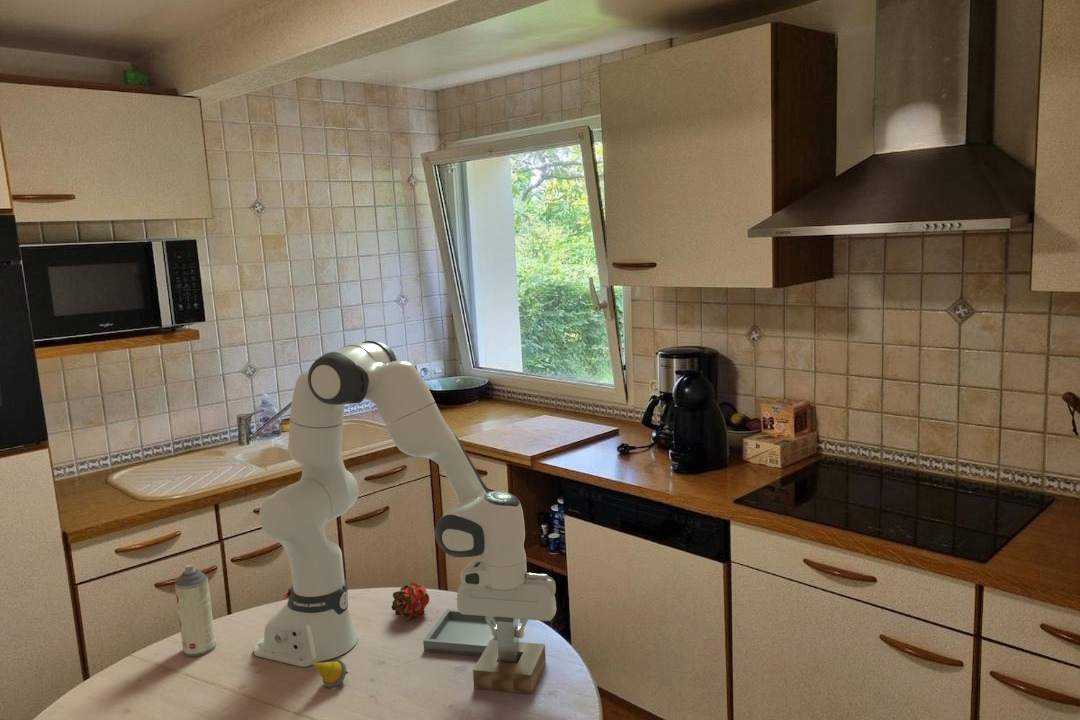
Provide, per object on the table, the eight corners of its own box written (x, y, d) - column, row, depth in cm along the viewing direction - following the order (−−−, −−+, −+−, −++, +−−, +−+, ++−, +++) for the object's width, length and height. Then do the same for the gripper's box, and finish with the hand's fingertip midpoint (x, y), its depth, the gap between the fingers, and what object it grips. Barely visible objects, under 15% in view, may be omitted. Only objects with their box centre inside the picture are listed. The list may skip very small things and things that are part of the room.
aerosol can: (190, 642, 183) (180, 560, 180) (220, 640, 183) (210, 558, 180) (178, 657, 176) (167, 572, 173) (209, 656, 177) (198, 571, 173)
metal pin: (498, 667, 162) (496, 616, 160) (503, 658, 165) (501, 608, 164) (515, 668, 161) (512, 617, 159) (519, 659, 165) (517, 609, 163)
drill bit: (354, 686, 163) (322, 672, 156) (333, 695, 164) (301, 681, 157) (355, 661, 166) (323, 646, 160) (334, 669, 168) (302, 655, 161)
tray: (424, 651, 174) (423, 640, 174) (447, 618, 189) (446, 608, 188) (489, 656, 171) (488, 646, 170) (508, 623, 185) (507, 613, 185)
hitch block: (474, 688, 159) (472, 670, 159) (491, 657, 171) (490, 639, 170) (532, 694, 156) (531, 675, 156) (545, 661, 168) (544, 644, 167)
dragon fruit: (400, 634, 186) (416, 617, 198) (428, 613, 185) (442, 597, 196) (379, 604, 186) (396, 589, 198) (406, 583, 185) (422, 569, 197)
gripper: (558, 568, 161) (560, 632, 163) (462, 562, 165) (466, 624, 168) (551, 581, 155) (554, 647, 157) (452, 575, 159) (456, 639, 162)
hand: (508, 635), depth 162 cm, fingers closed on metal pin, 3 cm apart
